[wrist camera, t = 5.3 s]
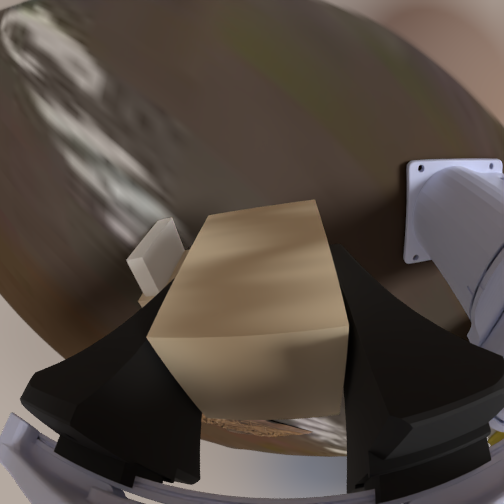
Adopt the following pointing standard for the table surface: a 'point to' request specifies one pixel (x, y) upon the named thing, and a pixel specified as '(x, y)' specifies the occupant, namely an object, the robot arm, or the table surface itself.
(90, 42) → the table surface
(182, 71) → the table surface
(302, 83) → the table surface
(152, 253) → the wall frame
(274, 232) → the block
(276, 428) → the wooden fragment
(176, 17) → the table surface
